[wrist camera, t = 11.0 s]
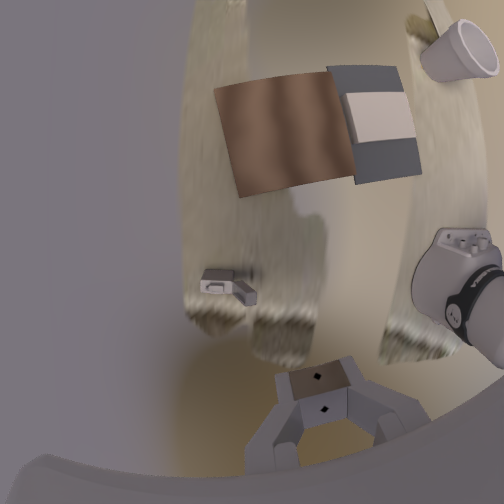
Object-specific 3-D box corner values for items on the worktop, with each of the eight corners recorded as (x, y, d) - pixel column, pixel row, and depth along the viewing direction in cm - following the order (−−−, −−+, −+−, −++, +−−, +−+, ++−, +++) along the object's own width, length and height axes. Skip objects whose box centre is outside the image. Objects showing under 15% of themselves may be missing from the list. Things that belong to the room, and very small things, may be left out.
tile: (397, 95, 32) (405, 92, 30) (407, 138, 34) (416, 137, 31) (340, 97, 32) (346, 93, 30) (351, 144, 34) (358, 142, 32)
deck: (327, 75, 32) (331, 71, 30) (351, 174, 36) (356, 174, 34) (215, 93, 32) (213, 89, 30) (239, 197, 36) (239, 198, 34)
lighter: (204, 280, 39) (196, 304, 32) (204, 269, 39) (195, 291, 31) (254, 282, 40) (256, 307, 32) (254, 271, 39) (257, 294, 31)
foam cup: (415, 35, 29) (457, 8, 16) (453, 62, 30) (497, 45, 17) (410, 71, 31) (458, 48, 19) (449, 100, 32) (499, 88, 20)
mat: (394, 67, 31) (396, 66, 31) (420, 174, 36) (422, 174, 35) (326, 66, 31) (326, 66, 31) (355, 184, 36) (356, 184, 36)
